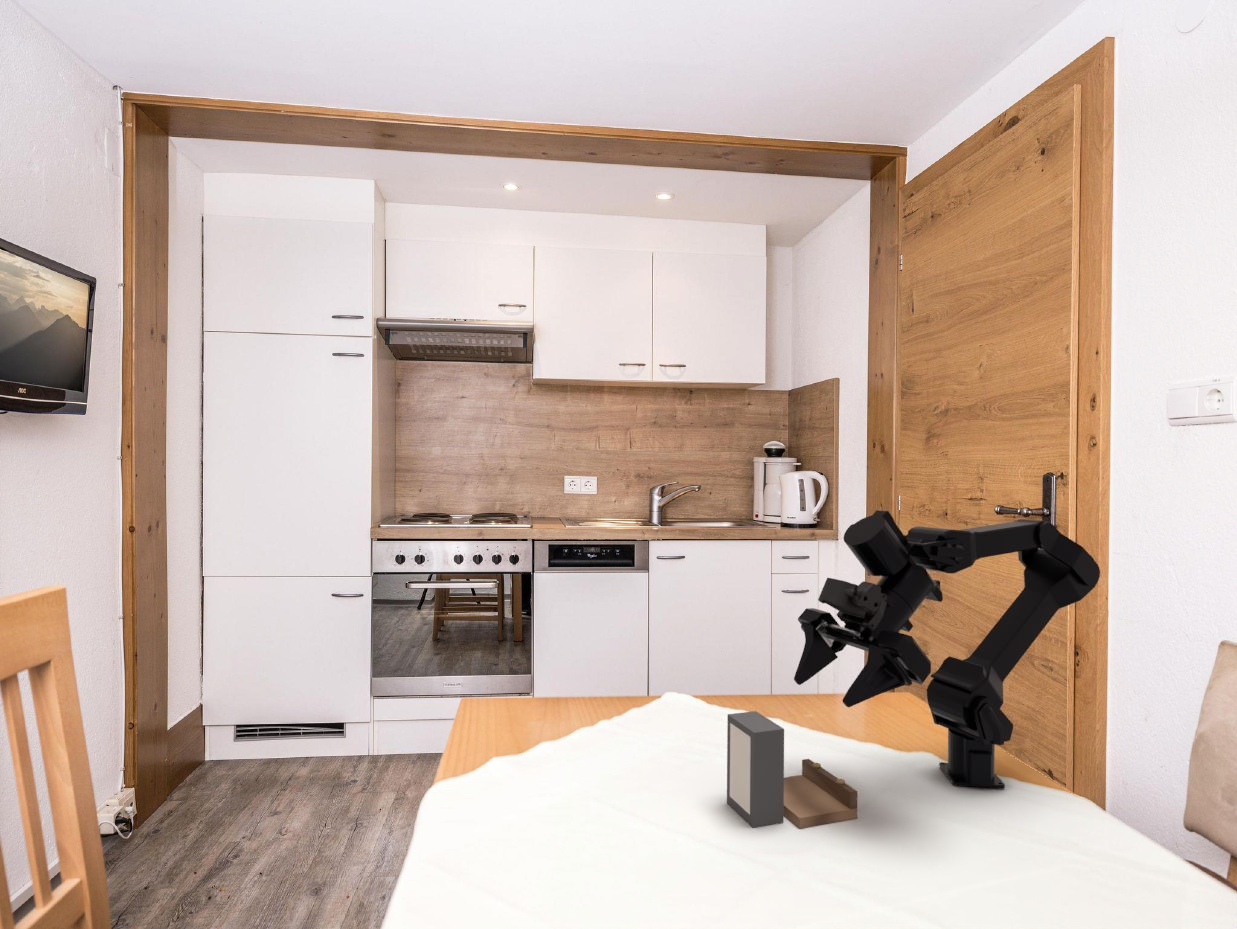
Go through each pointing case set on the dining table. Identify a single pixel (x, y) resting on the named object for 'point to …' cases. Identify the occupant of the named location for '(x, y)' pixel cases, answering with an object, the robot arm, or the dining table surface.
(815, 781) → the drawer
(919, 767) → the dining table surface
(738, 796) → the grey box
